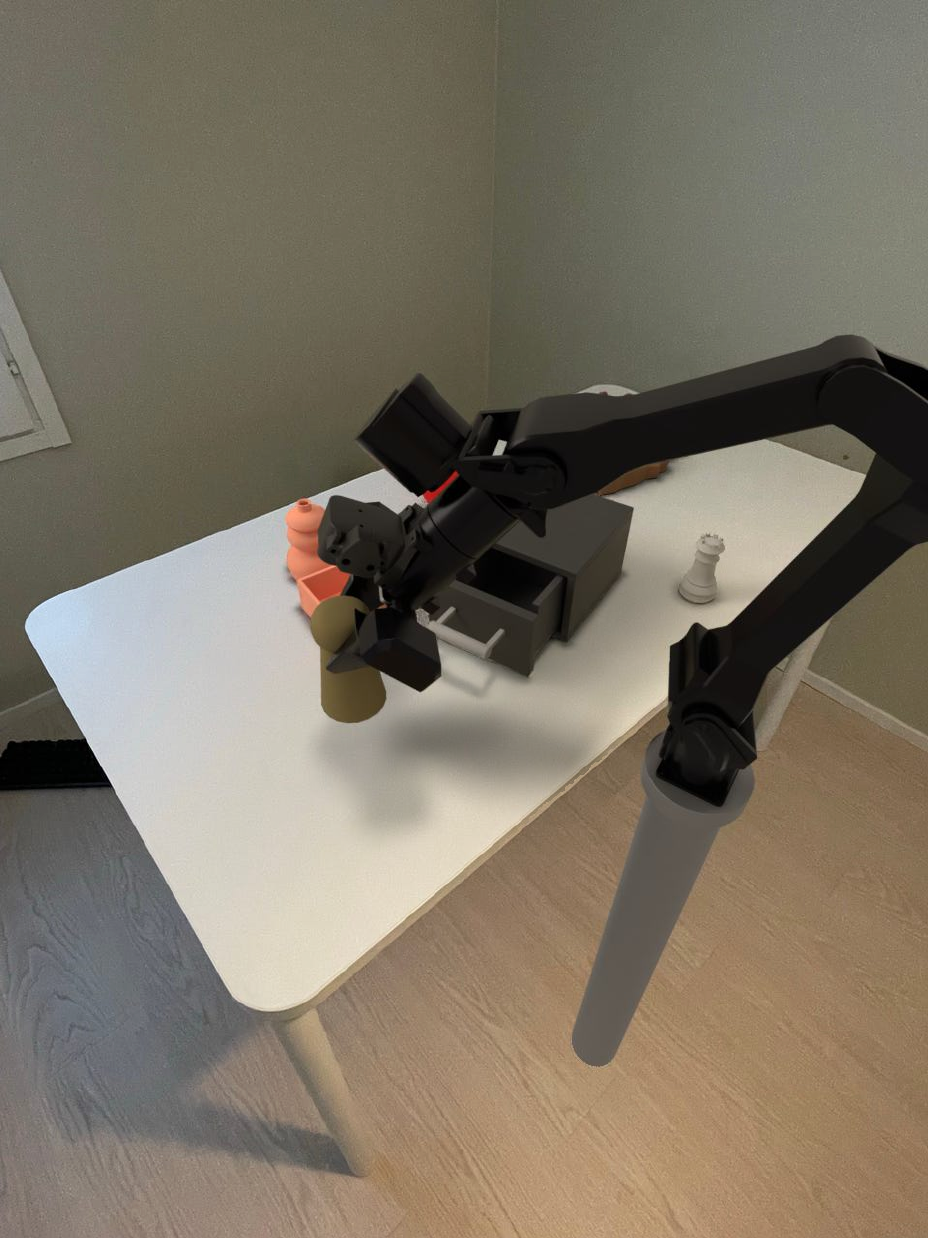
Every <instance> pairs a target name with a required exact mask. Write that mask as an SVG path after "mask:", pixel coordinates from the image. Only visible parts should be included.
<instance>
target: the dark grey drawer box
mask: <svg viewBox="0 0 928 1238" xmlns="http://www.w3.org/2000/svg"><path fill="white" fill-rule="evenodd" d="M634 511H635V507H634V506H630V505H628V504H624V503H622V502H619V501H615V500H612V499H610V498H607V497H603V496H602V495H599V494H593V495H591V496H588V497H586V498H583V499H580V500H578V501H575V502H573V503H570V504H567V505H565V506H562V507H560V508H556V509H553V510H548V511H547V516H546V532H547V534H546V536H545V537H543V538H539V537H537V536H536V535H535V534H534V533H533V532H532V531H531V530H530V529H529V528H528V527H527V526H526V525H525V524H524V523H523V522H521V521H520V522H519V523H518V524H516V525H515V526H514V527H513V528H512V529H511V530H510V531H509V532H508V533H506V534H505V535H504V536H503V537H502V538H501V539H500V540H499V541H498V542H497V543H495V544H494V545H493V546H492V547H491V548H493V549H496V550H498V551H501V552H503V553H506V554H509V555H511V556H514V557H516V558H519V559H521V560H524V561H526V562H529V563H532V564H534V565H537V566H539V567H542V568H544V569H547V570H550V571H552V572H555V573H557V574H560V575H562V576H565V577H567V578H568V581H567V589H566V596H565V604H564V611H563V619H562V623H561V624H560V626H559V627H558V628H557V629H556V631H555V632H554V633H553V634H552V635H551V637H553V638H556V639H557V640H560V641H563V642H564V643H568V641H569V640H570V639H571V637H572V636H574V634H575V632H576V631H577V630H578V629H579V627H580V626H581V625H582V624H583V623H584V621H585V620H586V619H587V618H588V616H589V615H590V614H591V612H592V611H593V610H594V609H595V607H596V606H597V605H598V603H599V602H600V601H601V599H602V598H603V597H604V596H605V595H606V594H607V592H608V591H609V590H610V589H611V587H612V586H613V585H614V583H615V582H616V581H617V579H618V578H619V577H620V576H621V575H622V570H623V566H624V560H625V557H626V550H627V546H628V540H629V536H630V530H631V525H632V520H633V515H634Z"/></svg>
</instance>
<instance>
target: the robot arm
mask: <svg viewBox="0 0 928 1238" xmlns="http://www.w3.org/2000/svg"><path fill="white" fill-rule="evenodd" d="M435 387H436V386H434V385H433V383H432V382H431V381H430V380H429V379H428V378H427V377H426V376H425V375H424V374H423V373H421V372H416V373H415V374H414V375H413V376H412V377H411V379H410V380H409V381H406V382H405V383H404V384H403V385H402V386H401V387H400V388H399V389H398V388H395V389H393V390H392V392H390V394H388V396H387V397H386V398H385V400H383V402H382V403H381V404H380V405H379V406H378V407H377V408H376V409H375V411H374V412H373V413H372V414H371V415H370V417H369V418H368V419H367V420H366V422H365V423H364V424H363V425H362V426H361V428H360V429H359V430H358V432H357V433H356V434H355V435H354V437H353V439H352V441H353V442H354V444H356V445H357V446H358V447H359V448H360V449H362V451H364V452H365V453H366V454H367V455H368V456H369V457H370V458H371V459H372V460H374V461H375V462H376V463H377V464H378V465H379V466H380V467H381V468H382V469H384V470H385V471H386V472H387V473H388V474H389V475H390V476H391V477H393V479H394V480H396V481H397V482H398V483H399V484H400V485H401V486H402V487H404V489H406V490H407V491H408V492H409V493H411V494H414V495H415V496H416V497H417V498H419V497H421V496H423V494H424V493H426V492H427V491H429V492H431V493H432V492H434V491H436V490H437V489H438V488H440V487H441V486H442V485H443V484H444V483H445V482H446V481H447V480H448V479H449V478H450V477H451V476H452V474H453V473H454V472H455V471H456V472H457V473H458V475H457V476H456V477H455V478H454V479H453V480H452V481H451V482H450V483H449V484H448V485H447V486H446V487H445V488H444V489H443V490H442V491H441V492H440V493H439V494H438V495H437V496H436V497H435V498H434V499H433V500H432V501H431V502H430V503H429V504H428V503H427V505H426V506H425V507H422V506H421V505H420V504H419V503H417V502H414V503H413V504H412V505H411V504H408V505H406V506H405V507H404V508H403V509H402V510H401V511H400V512H398V513H397V512H395V511H394V510H392V509H390V508H389V507H388V506H387V505H385V504H383V503H382V502H381V501H369V502H365V501H361V500H357V499H354V498H351V497H347V496H343V495H339V494H334V495H331V496H330V497H329V499H328V502H327V505H326V506H325V508H324V509H325V512H324V515H323V517H322V520H321V523H320V525H319V528H318V531H317V534H318V550H317V553H318V556H319V558H320V559H321V560H322V561H323V562H325V563H327V564H330V565H334V566H337V567H338V569H339V570H340V571H341V572H344V573H348V574H350V576H349V578H348V580H347V582H346V584H345V586H344V588H343V590H342V592H341V594H340V596H351V597H355V598H357V599H359V600H361V601H362V602H363V603H364V604H365V605H366V606H368V608H369V610H370V612H371V613H370V614H369V615H366V614H365V613H363V612H361V611H359V610H358V609H356V608H354V622H355V630H354V631H353V632H352V633H351V634H350V636H349V637H348V638H347V639H346V640H345V642H344V643H343V644H342V645H341V646H340V648H339V649H338V650H337V651H336V652H335V653H334V655H333V656H332V657H331V659H330V660H329V662H328V663H327V664H326V670H327V671H329V672H331V673H333V674H338V673H343V672H347V671H352V670H356V669H360V668H365V667H369V666H371V667H373V668H375V669H377V670H379V671H380V673H381V674H384V675H386V676H387V677H390V678H392V679H394V680H395V681H398V682H399V683H402V684H403V685H405V686H407V687H409V688H411V689H412V690H415V691H416V692H418V693H422V692H424V691H426V690H428V688H430V687H431V686H432V685H433V684H434V683H435V682H436V681H438V680H439V679H440V678H441V677H442V661H441V656H440V651H439V650H440V649H439V646H438V645H439V644H438V640H437V637H436V634H435V633H434V632H433V631H431V630H429V629H428V628H427V627H426V626H425V625H423V624H421V623H419V622H418V617H417V613H416V611H418V610H419V609H420V610H422V611H424V612H425V613H427V614H428V615H429V614H431V615H433V614H434V613H435V612H436V611H437V610H438V609H440V604H439V599H438V595H439V594H440V593H441V592H442V591H443V590H445V589H446V588H447V587H448V586H449V585H450V584H451V583H452V582H453V581H455V580H456V579H457V578H460V579H461V580H463V581H464V582H466V583H467V584H468V583H469V582H470V581H471V580H472V579H473V578H474V577H475V576H476V572H475V569H474V565H473V563H474V562H476V561H477V560H478V559H479V558H480V557H481V556H482V555H483V554H484V553H485V552H487V551H488V550H489V549H490V548H491V547H492V546H493V545H494V544H495V543H497V542H498V541H499V540H500V539H501V538H502V537H503V536H504V535H505V534H506V533H508V532H509V531H510V530H511V529H512V528H513V527H514V526H515V525H516V524H518V523H519V522H520V521H521V522H523V523H524V524H525V525H526V526H527V527H528V528H529V529H530V530H531V531H532V532H533V533H534V534H535V535H536V536H537V537H539V538H543V537H545V536H546V534H547V532H546V516H547V511H548V510H553V509H556V508H560V507H562V506H565V505H567V504H570V503H573V502H575V501H578V500H580V499H583V498H586V497H588V496H591V495H593V494H595V495H597V493H598V492H600V491H601V490H603V489H604V488H606V487H607V486H609V485H610V484H612V483H613V482H615V481H616V480H618V479H619V478H621V477H622V476H624V475H625V474H627V473H629V472H631V471H634V470H636V469H639V468H642V467H644V466H648V465H652V464H657V463H661V462H666V461H668V462H669V461H675V460H678V459H679V460H680V459H683V458H687V457H692V456H693V457H694V456H697V455H702V454H706V453H710V452H714V451H719V450H723V449H727V448H728V449H729V448H732V447H736V446H741V445H742V446H743V445H745V444H750V443H754V442H755V443H756V442H759V441H762V440H768V439H772V438H778V437H780V436H786V435H790V434H795V433H799V432H804V431H808V430H813V429H817V428H821V427H826V426H834V427H836V428H838V429H840V430H842V431H844V432H846V433H848V434H849V435H851V436H852V437H854V438H856V439H857V440H859V442H861V443H862V444H863V445H865V446H866V447H868V448H869V449H870V450H872V451H873V452H874V453H875V454H874V457H873V459H872V461H871V463H870V466H869V468H868V470H867V472H866V475H865V476H864V479H863V482H862V484H861V486H860V489H859V490H858V492H857V493H856V495H855V496H854V497H853V499H852V500H851V501H850V502H849V503H848V504H846V506H845V507H844V508H842V510H841V511H839V513H838V514H837V515H836V516H835V517H834V518H833V519H831V521H830V522H829V523H828V524H827V525H826V526H825V527H824V528H823V529H821V531H820V532H819V533H818V534H817V535H816V536H815V537H814V538H812V540H811V541H810V542H809V543H808V544H807V545H806V546H805V547H804V548H803V549H802V550H801V551H800V552H799V553H798V554H796V556H795V557H793V559H792V560H791V561H790V562H789V563H788V564H787V565H786V566H785V567H784V568H783V569H782V570H781V571H780V572H779V573H778V574H777V575H776V576H775V577H774V578H773V579H772V580H771V581H770V582H769V583H768V584H767V585H766V586H765V587H764V588H763V589H762V590H761V591H760V592H759V593H758V594H757V595H756V596H755V597H754V599H752V600H751V602H749V604H747V605H746V607H744V609H743V610H741V612H739V613H738V615H737V616H736V617H735V618H733V619H732V621H731V622H729V623H727V624H726V625H723V626H717V627H713V628H707V627H706V626H704V625H702V624H701V623H700V622H698V621H695V622H694V623H692V624H691V625H690V627H689V629H688V631H686V634H685V635H684V636H683V637H682V638H681V639H679V640H678V641H677V642H675V643H672V644H670V645H669V659H668V660H669V661H668V681H667V683H668V684H667V714H666V715H667V716H666V717H667V719H668V722H669V724H668V726H667V728H666V729H665V730H666V732H665V736H664V739H663V742H662V745H661V748H660V752H659V757H660V758H662V761H661V762H660V764H659V766H658V768H657V770H656V773H655V774H656V776H657V777H658V778H659V779H661V780H663V781H665V782H667V783H670V784H672V785H674V786H676V787H678V788H680V789H682V790H684V791H686V792H688V793H690V794H692V795H694V796H696V797H698V798H700V799H702V800H704V801H706V802H708V803H710V804H712V805H714V806H717V807H722V806H723V805H724V802H725V800H726V798H727V796H728V793H729V791H730V789H731V787H732V784H733V782H734V780H735V778H736V776H737V773H738V771H739V769H745V768H746V767H747V766H749V765H750V764H751V765H752V764H753V763H754V762H755V761H756V760H758V749H757V736H756V728H755V727H756V726H755V725H756V724H755V715H754V709H755V707H756V704H757V702H758V700H759V698H760V695H761V693H762V690H763V688H764V686H765V683H766V681H767V679H768V677H769V675H770V673H771V672H772V671H773V670H774V669H775V668H776V667H777V666H778V665H780V664H781V663H782V662H783V661H784V660H786V659H787V658H788V657H789V656H790V655H791V654H792V653H793V652H794V651H796V650H797V649H798V648H800V646H801V645H803V644H804V643H805V642H806V641H807V640H809V638H811V637H812V636H814V634H816V632H817V631H819V630H820V629H821V628H822V627H823V626H824V625H826V623H827V622H829V621H830V620H831V619H833V618H834V617H835V616H836V615H837V614H838V613H839V612H840V611H842V609H844V608H845V607H846V606H847V605H848V604H850V603H851V602H852V601H853V600H854V599H855V598H856V597H857V596H859V595H860V594H861V593H862V592H863V591H864V590H866V589H867V588H868V587H869V586H870V585H871V584H872V583H874V581H876V580H877V579H878V578H879V577H880V576H882V574H884V573H885V572H886V571H887V570H888V569H889V568H890V567H892V566H893V565H894V564H895V563H897V561H898V560H900V559H901V558H902V557H903V556H905V555H906V553H908V552H909V551H910V550H911V549H913V548H914V547H916V546H919V545H921V544H925V543H928V367H927V366H925V365H923V364H922V363H920V362H917V361H914V360H911V359H909V358H905V357H902V356H899V355H896V354H893V353H891V352H888V351H885V350H884V349H882V348H880V347H878V346H876V345H874V344H873V342H871V341H870V340H868V339H867V338H866V337H864V336H862V335H861V336H860V335H857V334H851V333H850V334H842V335H841V334H839V335H835V336H833V337H830V338H828V339H826V340H824V341H823V342H822V343H820V344H817V345H814V346H810V347H807V348H804V349H800V350H796V351H793V352H789V353H785V354H781V355H778V356H773V357H770V358H767V359H762V360H759V361H755V362H751V363H747V364H744V365H740V366H737V367H732V368H728V369H725V370H721V371H718V372H713V373H711V374H706V375H703V376H699V377H695V378H692V379H688V380H684V381H680V382H676V383H672V384H669V385H665V386H662V387H658V388H654V389H650V390H646V391H643V392H639V393H633V394H634V395H625V394H624V395H625V396H624V395H609V394H608V395H603V394H598V393H597V392H596V393H595V392H587V391H586V393H584V392H579V393H577V392H576V393H568V394H557V395H549V396H543V397H539V398H537V399H534V400H532V401H530V402H528V403H527V404H526V405H525V406H524V407H513V408H499V409H487V410H486V409H485V410H479V411H478V412H477V413H476V415H475V417H474V419H473V421H472V422H471V423H469V422H468V421H467V420H465V418H464V417H463V416H462V415H460V413H459V412H458V411H456V410H455V409H454V408H453V407H452V406H451V404H449V402H447V400H445V398H443V397H442V395H441V394H440V393H439V392H438V390H437V389H436V388H435ZM499 441H502V442H506V443H505V446H504V448H503V451H502V452H501V454H496V455H494V453H495V451H496V448H497V445H498V443H499ZM384 604H385V605H386V608H380V609H377V608H379V607H381V606H382V605H384ZM659 772H661V773H663V774H660V773H659ZM717 800H719V801H720V802H717Z"/></svg>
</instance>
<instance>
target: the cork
mask: <svg viewBox="0 0 928 1238" xmlns="http://www.w3.org/2000/svg"><path fill="white" fill-rule="evenodd" d="M354 608H356V609H358V610H359V611H361V612H363V613H365V614H366V615H369V614H370V613H371V612H370V610H369V608H368V606H366V605H365V604H364V603H363V602H362V601H361V600H359V599H357V598H355V597H351V596H335V597H332V598H328V599H326V600H324V601H323V602H321V603H320V604H319V605H318V606H317V607H316V608H315V610H314V612H313V614H312V615H311V618H310V624H309V629H310V634H311V636H312V638H313V641H314V642H315V643H316V645H317V646H319V660H320V661H319V662H320V663H319V664H320V669H319V670H320V705H321V707H322V711H323V712H324V713H325V715H326V716H327V717H329V718H330V719H332V720H333V721H335V722H338V723H343V724H358V723H361V722H365V721H368V720H370V719H372V718H373V717H374V716H377V715H378V714H379V712H380V711H381V710H383V708H384V706H385V703H386V701H387V689H386V686H385V683H384V679H383V677H382V673H381V672H380V671H379V670H377V669H375V668H373V667H371V666H369V667H365V668H360V669H356V670H352V671H347V672H343V673H338V674H333V673H331V672H329V671H327V670H326V664H327V663H328V662H329V660H330V659H331V657H332V656H333V655H334V653H335V652H336V651H337V650H338V649H339V648H340V646H341V645H342V644H343V643H344V642H345V640H346V639H347V638H348V637H349V636H350V634H351V633H352V632H353V631H354V630H355V622H354Z"/></svg>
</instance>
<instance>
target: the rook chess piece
mask: <svg viewBox="0 0 928 1238" xmlns="http://www.w3.org/2000/svg"><path fill="white" fill-rule="evenodd" d="M724 542H725V539H724V537H723V536H719V534H718V533H715V532H714V533H713V535H711V532H705V534H704V533H703V534H701V536H700V538H698V539H697V540H696V541H695V546H696V548H697V550H696V551H695V553H694V557H695V558H694V561H693V563H692V565H691V567H690V569H689V570H687V572H686V573H684V574H683V575H682V576H681V578H680V583H679V584H678V591H679V593H680V595H681V596H682V597H683V598H684V599H686V600H687V601H689V602H692V603H694V604H695V603H696V604H706V603H708V602H710V601H712V600H714V598H715V597H716V596H717V591H718V581H717V577H716V575H715V574H716V568H717V567H716V566H717V563H718V562H719V561H720V555H721V554H722V553H724V551H725V550H726V546H725V544H724Z"/></svg>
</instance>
